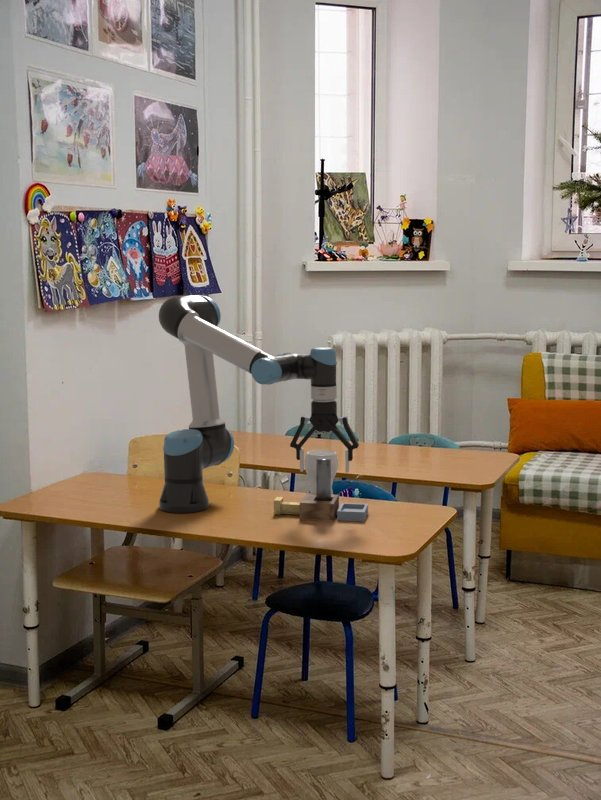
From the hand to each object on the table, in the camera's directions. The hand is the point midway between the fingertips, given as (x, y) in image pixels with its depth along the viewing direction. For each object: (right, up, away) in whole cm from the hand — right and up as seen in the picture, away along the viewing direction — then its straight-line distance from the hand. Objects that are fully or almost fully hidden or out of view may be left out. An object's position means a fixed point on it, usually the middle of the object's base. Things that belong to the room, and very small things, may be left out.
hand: (324, 471), depth 297 cm
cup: (-1, -11, +22) cm, 25 cm away
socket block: (-1, -13, +2) cm, 14 cm away
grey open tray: (+8, -13, +1) cm, 16 cm away
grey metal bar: (0, -13, +2) cm, 13 cm away
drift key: (-8, -13, +3) cm, 16 cm away
